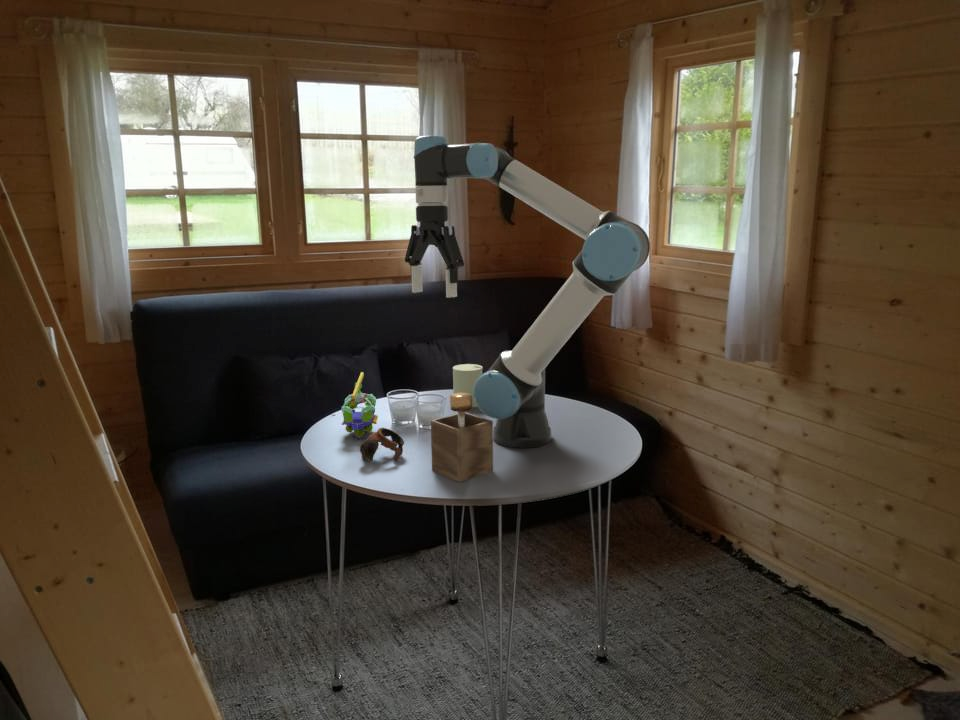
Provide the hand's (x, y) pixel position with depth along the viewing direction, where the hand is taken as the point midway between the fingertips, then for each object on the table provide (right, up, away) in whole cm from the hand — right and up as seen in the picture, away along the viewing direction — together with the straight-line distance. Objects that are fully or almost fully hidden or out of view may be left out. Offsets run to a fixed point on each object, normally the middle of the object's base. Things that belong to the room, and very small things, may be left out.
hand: (434, 294), depth 175 cm
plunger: (+7, -40, -8) cm, 41 cm away
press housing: (+7, -41, -8) cm, 43 cm away
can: (+7, -29, +47) cm, 56 cm away
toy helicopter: (-21, -36, +18) cm, 45 cm away
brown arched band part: (-13, -40, 0) cm, 42 cm away
